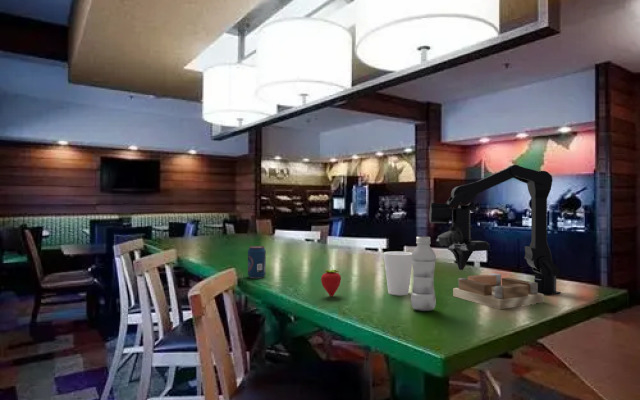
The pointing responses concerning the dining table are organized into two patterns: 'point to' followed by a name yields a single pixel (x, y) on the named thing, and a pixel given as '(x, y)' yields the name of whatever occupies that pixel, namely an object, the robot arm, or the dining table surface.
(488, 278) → the hinged leg
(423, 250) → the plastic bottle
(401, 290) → the foam cup
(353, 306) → the dining table surface
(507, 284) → the flat cream base board
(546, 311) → the dining table surface
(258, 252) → the soda can
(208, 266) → the dining table surface
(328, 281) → the strawberry
